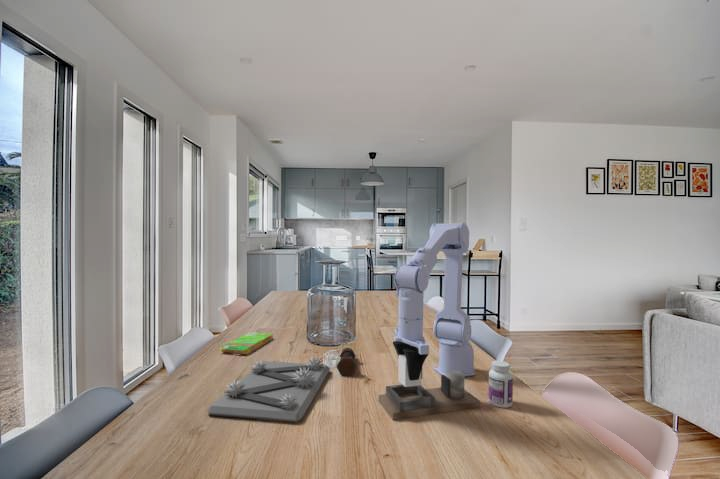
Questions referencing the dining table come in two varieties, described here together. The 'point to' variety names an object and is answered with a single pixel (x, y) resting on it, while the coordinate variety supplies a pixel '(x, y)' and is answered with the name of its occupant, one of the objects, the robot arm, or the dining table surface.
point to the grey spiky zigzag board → (273, 391)
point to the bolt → (347, 362)
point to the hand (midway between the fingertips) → (409, 375)
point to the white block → (406, 373)
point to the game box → (247, 343)
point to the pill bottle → (500, 385)
